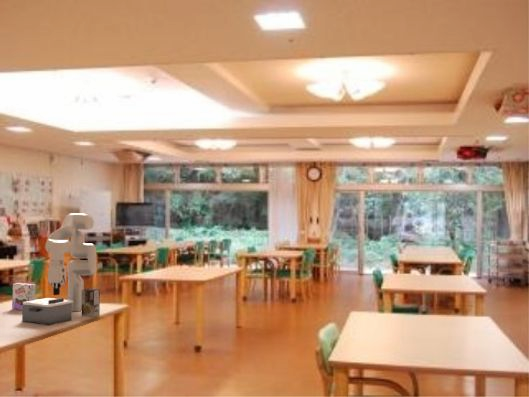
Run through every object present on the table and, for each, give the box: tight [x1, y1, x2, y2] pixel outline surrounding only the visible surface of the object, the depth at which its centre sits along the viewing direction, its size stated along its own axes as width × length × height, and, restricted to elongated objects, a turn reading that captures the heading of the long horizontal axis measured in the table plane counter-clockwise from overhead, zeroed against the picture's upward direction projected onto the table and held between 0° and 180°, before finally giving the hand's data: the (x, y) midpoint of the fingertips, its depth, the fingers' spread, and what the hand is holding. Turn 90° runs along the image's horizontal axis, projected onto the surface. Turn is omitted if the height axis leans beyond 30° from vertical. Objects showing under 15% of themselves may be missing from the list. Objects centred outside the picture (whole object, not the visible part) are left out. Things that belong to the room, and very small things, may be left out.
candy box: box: [11, 282, 36, 311], centre depth 387 cm, size 14×6×16 cm, turn 68°
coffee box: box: [81, 288, 101, 318], centre depth 368 cm, size 9×6×16 cm
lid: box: [23, 297, 73, 307], centre depth 350 cm, size 19×20×3 cm
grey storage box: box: [21, 303, 73, 326], centre depth 350 cm, size 22×20×10 cm
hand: (56, 294), depth 348 cm, fingers closed
